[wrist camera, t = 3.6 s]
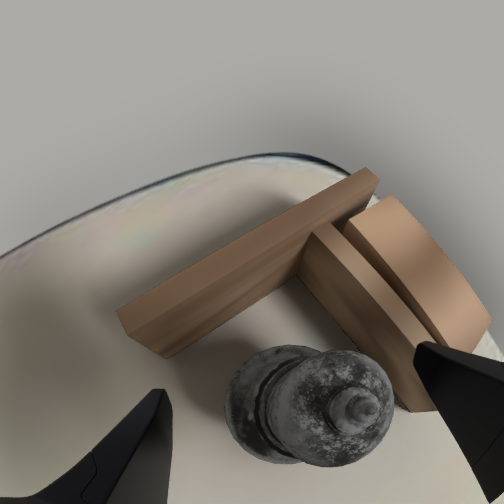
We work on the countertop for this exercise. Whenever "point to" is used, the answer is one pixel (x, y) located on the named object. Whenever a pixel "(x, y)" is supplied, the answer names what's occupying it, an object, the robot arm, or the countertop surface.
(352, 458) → the grey rounded upright piece
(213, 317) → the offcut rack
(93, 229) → the countertop surface
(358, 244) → the teak offcut
